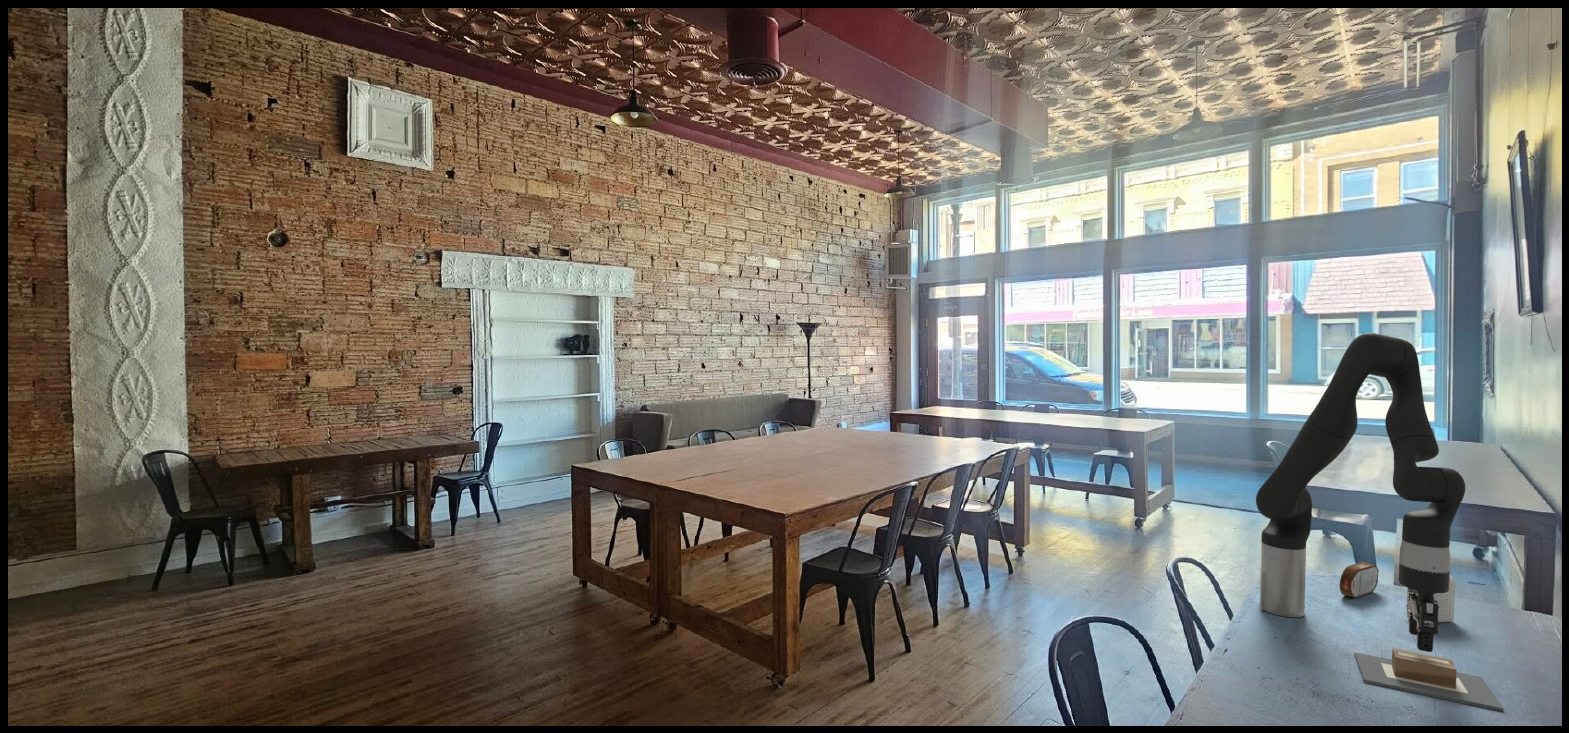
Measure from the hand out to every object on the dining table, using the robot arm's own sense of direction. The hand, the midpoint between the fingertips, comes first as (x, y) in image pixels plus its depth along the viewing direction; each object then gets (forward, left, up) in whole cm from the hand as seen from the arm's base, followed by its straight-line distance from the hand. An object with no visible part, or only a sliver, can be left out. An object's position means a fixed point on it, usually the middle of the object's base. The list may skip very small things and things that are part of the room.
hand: (1420, 642), depth 138 cm
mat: (+1, 0, -8) cm, 8 cm away
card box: (+1, 0, -7) cm, 7 cm away
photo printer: (+9, +40, -8) cm, 42 cm away
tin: (-3, +52, -8) cm, 53 cm away
